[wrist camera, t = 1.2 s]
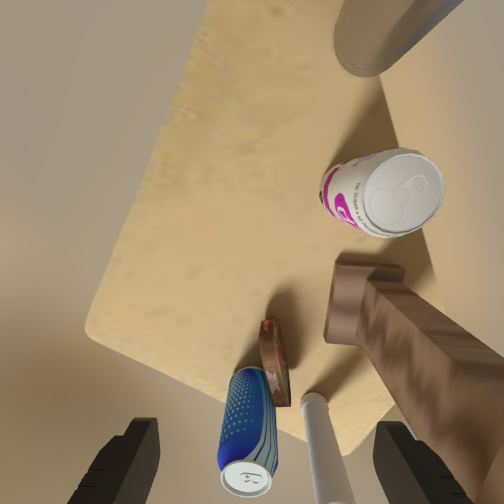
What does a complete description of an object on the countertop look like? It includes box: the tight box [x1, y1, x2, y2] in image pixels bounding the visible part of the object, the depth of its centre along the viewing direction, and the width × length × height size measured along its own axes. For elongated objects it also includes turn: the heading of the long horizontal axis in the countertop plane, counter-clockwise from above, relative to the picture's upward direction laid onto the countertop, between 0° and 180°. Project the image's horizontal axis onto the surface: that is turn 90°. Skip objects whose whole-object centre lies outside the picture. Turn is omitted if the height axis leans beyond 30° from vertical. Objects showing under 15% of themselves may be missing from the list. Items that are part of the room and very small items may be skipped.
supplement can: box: [319, 148, 445, 238], centre depth 28 cm, size 8×8×15 cm
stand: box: [323, 261, 504, 504], centre depth 26 cm, size 14×10×30 cm
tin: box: [259, 318, 291, 407], centre depth 39 cm, size 15×3×8 cm, turn 12°
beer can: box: [217, 366, 278, 497], centre depth 38 cm, size 8×8×16 cm
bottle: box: [301, 392, 356, 504], centre depth 34 cm, size 5×5×25 cm
